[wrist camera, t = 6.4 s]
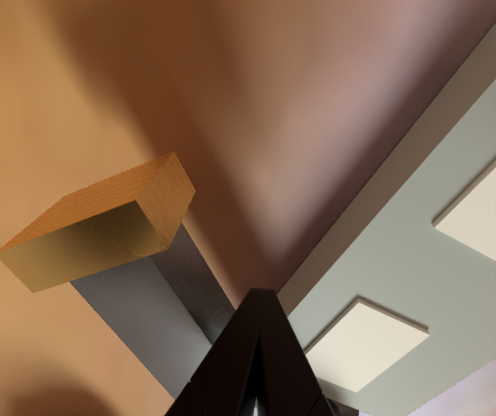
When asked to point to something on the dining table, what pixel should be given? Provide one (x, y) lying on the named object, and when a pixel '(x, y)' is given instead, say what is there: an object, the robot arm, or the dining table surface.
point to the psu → (410, 260)
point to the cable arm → (132, 266)
